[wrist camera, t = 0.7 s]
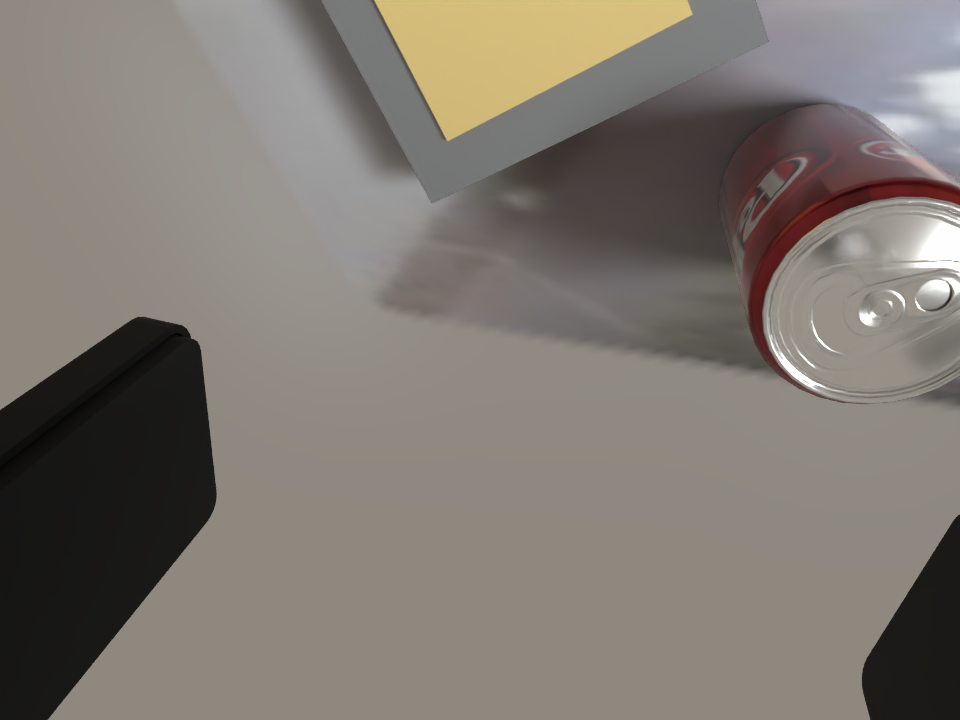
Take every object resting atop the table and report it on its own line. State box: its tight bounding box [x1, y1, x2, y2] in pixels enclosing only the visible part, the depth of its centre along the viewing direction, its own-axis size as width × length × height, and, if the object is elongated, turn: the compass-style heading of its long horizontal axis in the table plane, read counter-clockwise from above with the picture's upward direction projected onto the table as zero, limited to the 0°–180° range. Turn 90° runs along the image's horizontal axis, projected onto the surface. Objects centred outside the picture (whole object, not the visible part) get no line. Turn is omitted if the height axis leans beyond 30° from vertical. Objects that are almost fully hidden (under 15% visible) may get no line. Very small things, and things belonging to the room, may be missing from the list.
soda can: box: [719, 104, 960, 404], centre depth 25 cm, size 7×7×12 cm
